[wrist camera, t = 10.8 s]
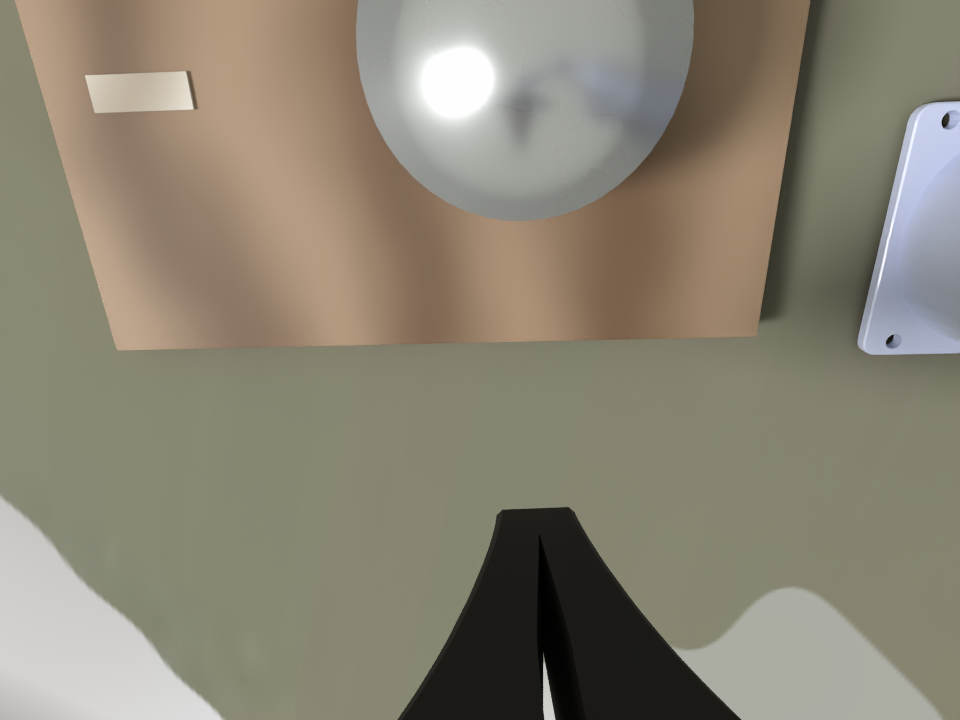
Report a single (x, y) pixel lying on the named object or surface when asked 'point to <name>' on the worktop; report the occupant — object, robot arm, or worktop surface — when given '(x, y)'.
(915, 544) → the worktop surface
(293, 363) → the worktop surface
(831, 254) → the worktop surface
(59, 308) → the worktop surface
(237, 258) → the post board
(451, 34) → the grey lever with knob
